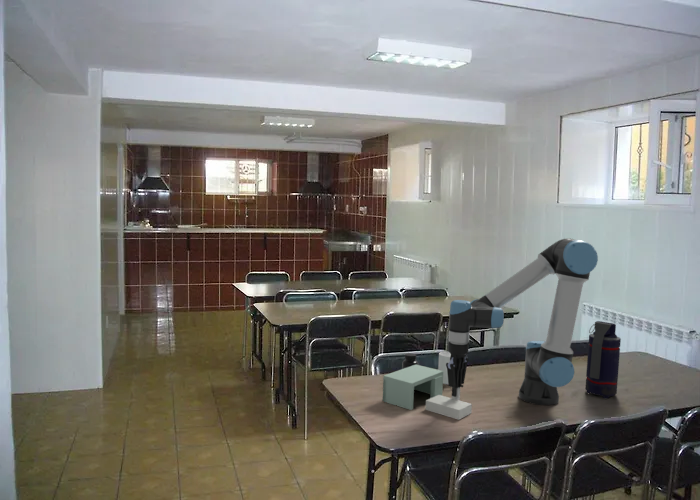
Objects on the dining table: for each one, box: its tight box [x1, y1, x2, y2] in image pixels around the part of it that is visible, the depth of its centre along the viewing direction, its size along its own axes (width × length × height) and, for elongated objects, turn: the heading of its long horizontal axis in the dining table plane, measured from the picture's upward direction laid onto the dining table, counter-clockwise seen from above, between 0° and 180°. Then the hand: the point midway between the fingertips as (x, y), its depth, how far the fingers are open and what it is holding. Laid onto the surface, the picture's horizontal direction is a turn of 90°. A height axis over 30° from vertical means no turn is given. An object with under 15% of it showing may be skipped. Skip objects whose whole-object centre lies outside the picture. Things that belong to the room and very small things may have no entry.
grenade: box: [584, 320, 622, 399], centre depth 239 cm, size 14×12×30 cm
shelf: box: [381, 364, 444, 411], centre depth 227 cm, size 14×22×10 cm, turn 140°
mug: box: [437, 351, 451, 385], centre depth 248 cm, size 12×8×12 cm
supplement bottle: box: [401, 352, 419, 369], centre depth 247 cm, size 7×7×12 cm
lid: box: [425, 394, 473, 421], centre depth 214 cm, size 14×9×4 cm, turn 49°
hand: (455, 404), depth 218 cm, fingers closed
